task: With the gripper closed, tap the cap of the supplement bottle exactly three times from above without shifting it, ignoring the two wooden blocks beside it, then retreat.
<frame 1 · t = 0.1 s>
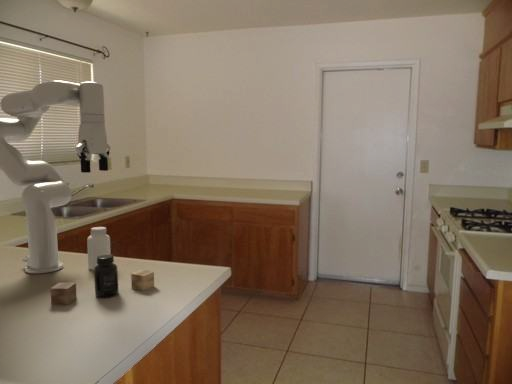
hand: (95, 171, 141), 37 cm above the worktop, tool pointing down, fingers open, 9 cm apart
maple block: (143, 287, 135), on the worktop
pill bottle: (99, 268, 155), on the worktop
walnut block: (64, 301, 122), on the worktop
supplement bottle: (106, 294, 129), on the worktop
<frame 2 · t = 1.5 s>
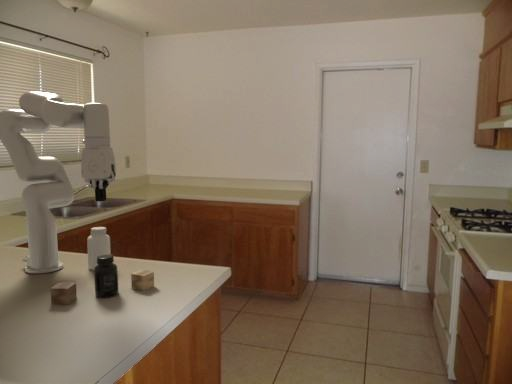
hand: (101, 200, 133), 28 cm above the worktop, tool pointing down, fingers closed
nothing on the worktop moved.
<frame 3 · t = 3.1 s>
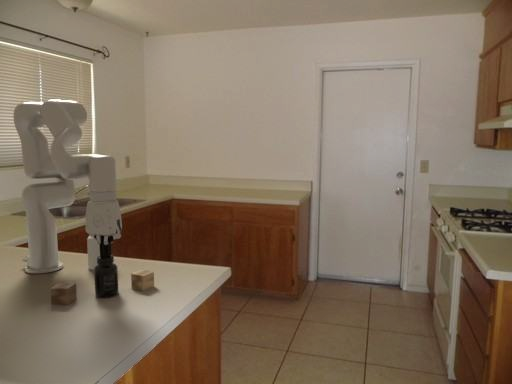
hand: (105, 256, 127), 12 cm above the worktop, tool pointing down, fingers closed
supplement bottle: (106, 294, 129), on the worktop, touching gripper
everything else where it was.
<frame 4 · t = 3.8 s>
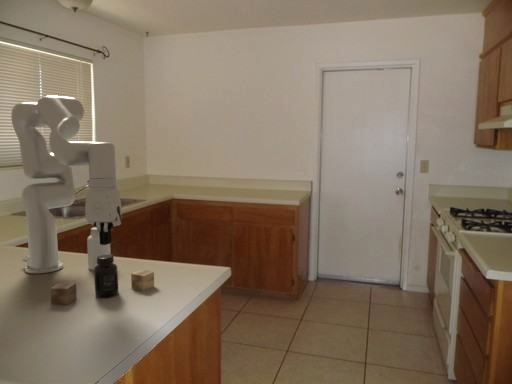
hand: (105, 243, 126), 16 cm above the worktop, tool pointing down, fingers closed
supplement bottle: (106, 294, 129), on the worktop
everything else where it was.
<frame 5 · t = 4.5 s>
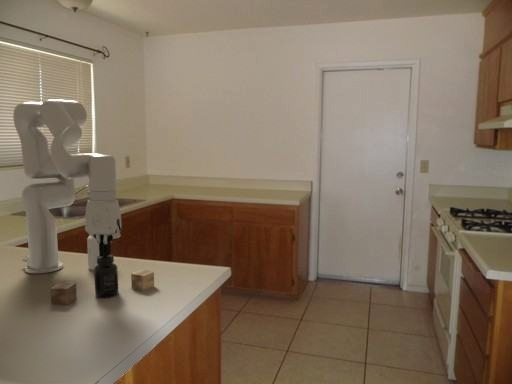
hand: (105, 255, 127), 12 cm above the worktop, tool pointing down, fingers closed
nothing on the worktop moved.
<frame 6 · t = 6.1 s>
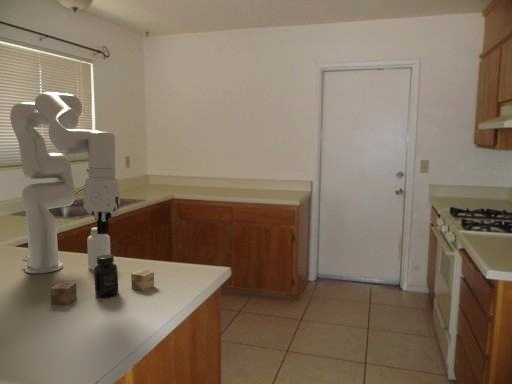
hand: (102, 233, 127), 19 cm above the worktop, tool pointing down, fingers closed
nothing on the worktop moved.
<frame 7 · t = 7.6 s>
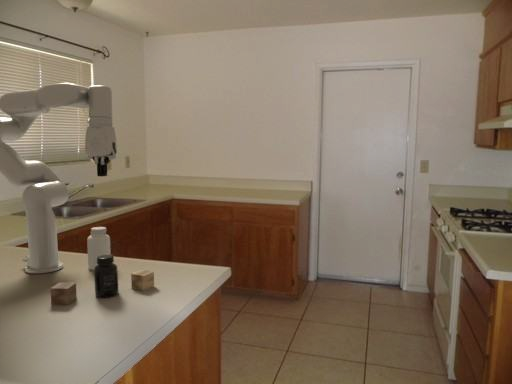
hand: (102, 175, 145), 35 cm above the worktop, tool pointing down, fingers closed
nothing on the worktop moved.
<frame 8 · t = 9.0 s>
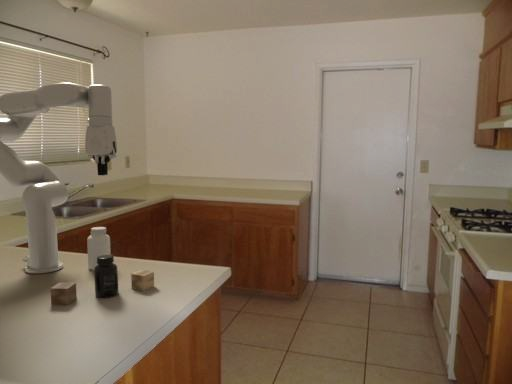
hand: (102, 175, 145), 35 cm above the worktop, tool pointing down, fingers closed
nothing on the worktop moved.
at the end: supplement bottle moved 0.2 cm from its start; supplement bottle tilted 0°; supplement bottle touching worktop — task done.
